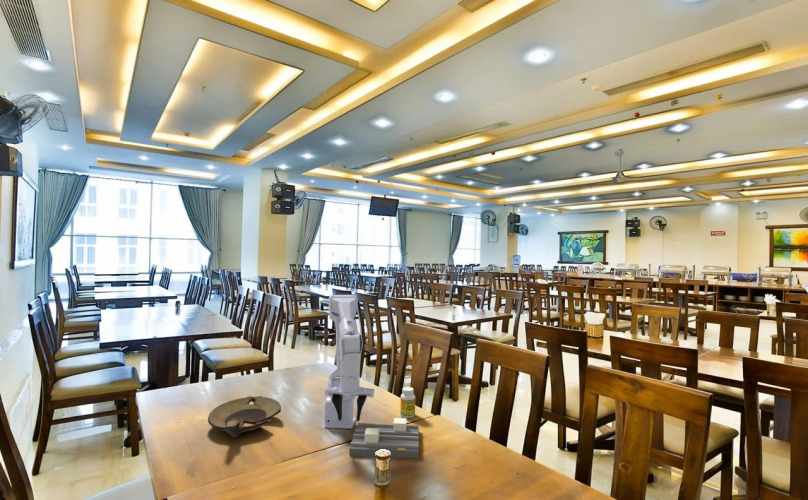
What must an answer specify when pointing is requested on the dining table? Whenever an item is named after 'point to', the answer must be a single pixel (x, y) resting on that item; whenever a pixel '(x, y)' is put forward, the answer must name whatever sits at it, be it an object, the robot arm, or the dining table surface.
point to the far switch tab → (399, 424)
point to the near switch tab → (371, 435)
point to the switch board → (386, 441)
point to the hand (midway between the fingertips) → (349, 419)
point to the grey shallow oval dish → (243, 414)
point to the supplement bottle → (407, 403)
